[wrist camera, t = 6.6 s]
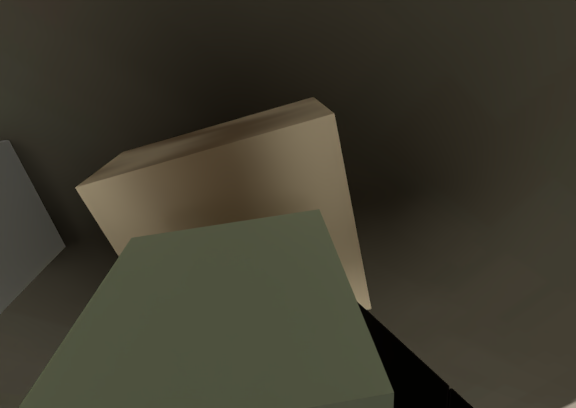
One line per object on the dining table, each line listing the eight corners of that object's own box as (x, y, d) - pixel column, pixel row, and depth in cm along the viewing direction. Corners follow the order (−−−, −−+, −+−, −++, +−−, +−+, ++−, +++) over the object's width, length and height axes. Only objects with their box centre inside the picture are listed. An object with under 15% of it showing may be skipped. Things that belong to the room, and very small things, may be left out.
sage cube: (182, 363, 10) (128, 597, 6) (131, 237, 8) (-20, 464, 4) (330, 338, 11) (385, 550, 6) (319, 209, 8) (394, 391, 4)
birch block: (199, 291, 16) (183, 358, 13) (125, 149, 13) (75, 187, 9) (345, 251, 16) (371, 308, 13) (312, 95, 13) (334, 113, 9)
